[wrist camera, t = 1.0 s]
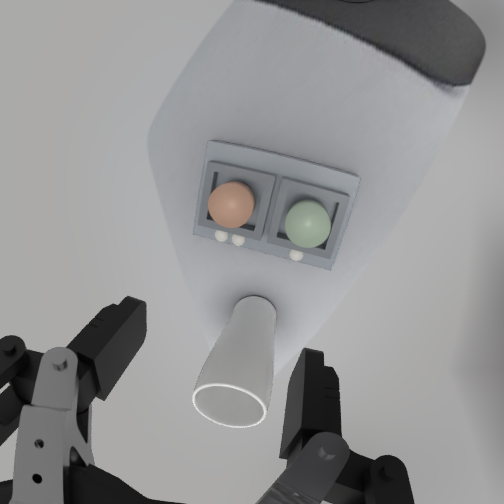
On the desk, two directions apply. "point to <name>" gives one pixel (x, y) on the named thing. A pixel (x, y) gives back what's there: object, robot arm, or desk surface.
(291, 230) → the button one
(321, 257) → the two-button control panel
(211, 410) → the drinking glass
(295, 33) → the desk surface
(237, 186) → the button two
